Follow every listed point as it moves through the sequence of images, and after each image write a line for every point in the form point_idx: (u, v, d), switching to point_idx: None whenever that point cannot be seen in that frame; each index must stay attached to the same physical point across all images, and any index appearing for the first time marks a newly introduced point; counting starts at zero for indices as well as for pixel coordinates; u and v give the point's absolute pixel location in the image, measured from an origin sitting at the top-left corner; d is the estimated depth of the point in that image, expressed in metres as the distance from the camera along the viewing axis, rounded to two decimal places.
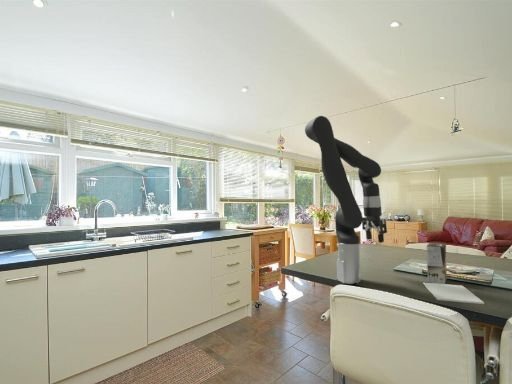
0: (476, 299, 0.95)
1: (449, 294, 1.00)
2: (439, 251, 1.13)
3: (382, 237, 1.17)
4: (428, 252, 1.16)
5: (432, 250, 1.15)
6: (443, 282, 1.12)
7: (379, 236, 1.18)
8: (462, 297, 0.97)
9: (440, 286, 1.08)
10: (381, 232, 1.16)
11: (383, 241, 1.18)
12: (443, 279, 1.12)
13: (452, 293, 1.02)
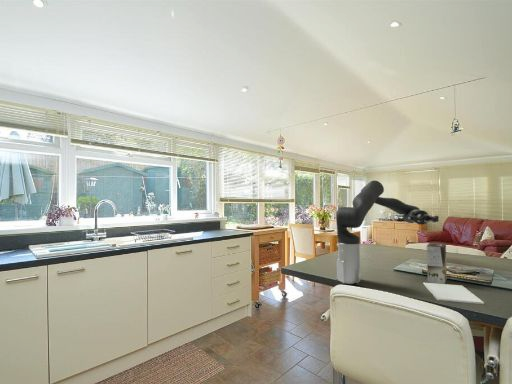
0: (476, 299, 0.95)
1: (449, 294, 1.00)
2: (439, 251, 1.13)
3: None
4: (428, 252, 1.16)
5: (432, 250, 1.15)
6: (443, 282, 1.12)
7: None
8: (462, 297, 0.97)
9: (440, 286, 1.08)
10: (437, 216, 1.30)
11: (435, 221, 1.27)
12: (443, 279, 1.12)
13: (452, 293, 1.02)
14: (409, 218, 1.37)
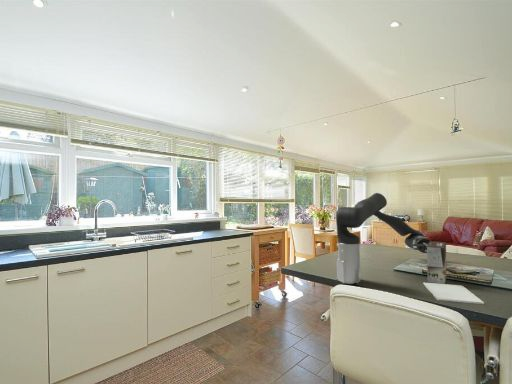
0: (476, 299, 0.95)
1: (449, 294, 1.00)
2: (439, 252, 1.12)
3: None
4: (428, 253, 1.14)
5: (432, 251, 1.13)
6: (443, 282, 1.12)
7: None
8: (462, 297, 0.97)
9: (440, 286, 1.08)
10: None
11: None
12: (443, 279, 1.12)
13: (452, 293, 1.02)
14: (416, 247, 1.30)
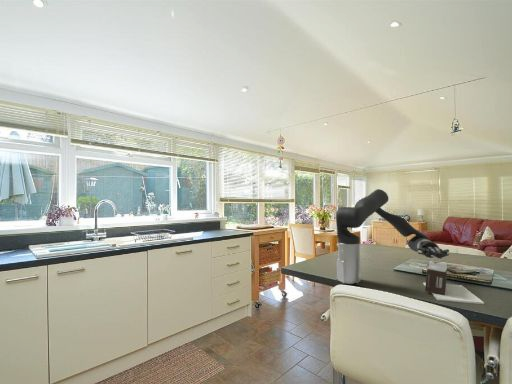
0: (476, 299, 0.95)
1: (449, 294, 1.00)
2: None
3: None
4: None
5: None
6: None
7: (439, 252, 1.16)
8: (462, 297, 0.97)
9: None
10: (443, 251, 1.17)
11: None
12: None
13: (452, 293, 1.02)
14: (421, 252, 1.22)
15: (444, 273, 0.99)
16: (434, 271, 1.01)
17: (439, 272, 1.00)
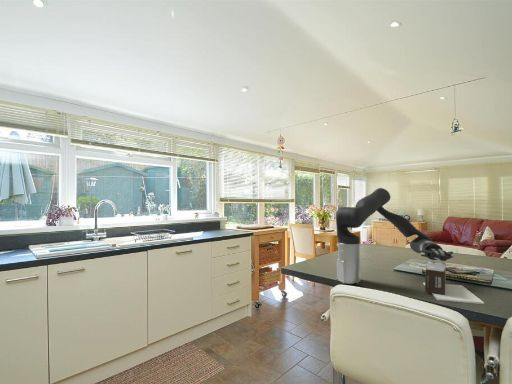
0: (476, 299, 0.95)
1: (449, 294, 1.00)
2: None
3: None
4: None
5: None
6: None
7: (443, 254, 1.11)
8: (462, 297, 0.97)
9: None
10: (447, 253, 1.13)
11: (445, 260, 1.09)
12: None
13: (452, 293, 1.02)
14: (424, 254, 1.18)
15: (442, 273, 0.99)
16: (432, 271, 1.01)
17: (437, 272, 1.00)
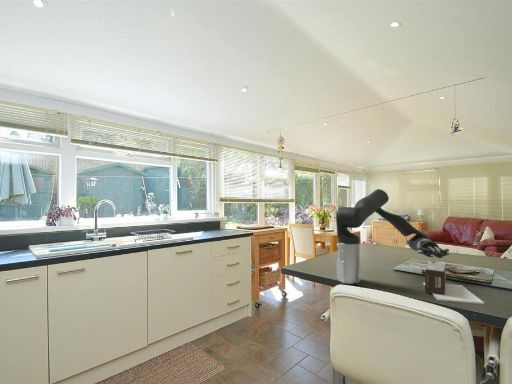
0: (476, 299, 0.95)
1: (449, 294, 1.00)
2: None
3: None
4: None
5: None
6: None
7: (439, 252, 1.16)
8: (462, 297, 0.97)
9: None
10: (443, 250, 1.18)
11: (441, 257, 1.14)
12: None
13: (452, 293, 1.02)
14: (421, 251, 1.23)
15: (442, 272, 0.99)
16: (432, 271, 1.01)
17: (437, 272, 1.00)
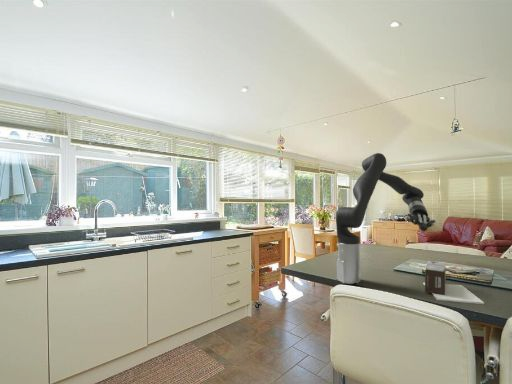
0: (476, 299, 0.95)
1: (449, 294, 1.00)
2: None
3: None
4: None
5: None
6: None
7: (425, 225, 1.24)
8: (462, 297, 0.97)
9: None
10: (429, 223, 1.25)
11: None
12: None
13: (452, 293, 1.02)
14: (409, 218, 1.30)
15: (442, 272, 0.99)
16: (432, 271, 1.01)
17: (437, 272, 1.00)
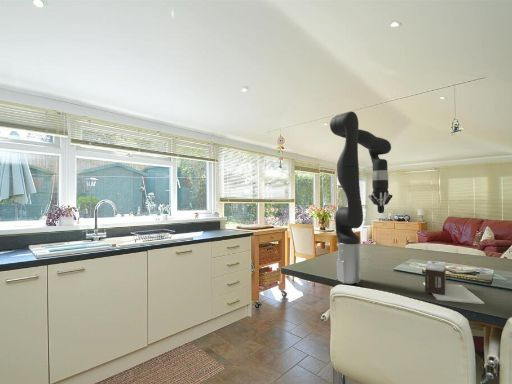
0: (476, 299, 0.95)
1: (449, 294, 1.00)
2: None
3: None
4: None
5: None
6: None
7: (383, 207, 1.36)
8: (462, 297, 0.97)
9: None
10: (387, 203, 1.36)
11: None
12: None
13: (452, 293, 1.02)
14: (371, 198, 1.36)
15: (442, 272, 0.99)
16: (432, 271, 1.01)
17: (437, 272, 1.00)
